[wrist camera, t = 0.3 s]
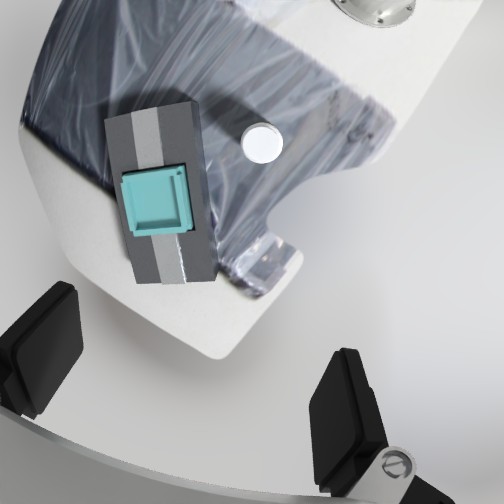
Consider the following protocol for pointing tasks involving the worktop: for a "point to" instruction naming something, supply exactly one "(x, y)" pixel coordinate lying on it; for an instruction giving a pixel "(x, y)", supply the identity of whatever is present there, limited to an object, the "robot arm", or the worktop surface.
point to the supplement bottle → (261, 142)
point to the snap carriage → (158, 201)
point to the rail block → (190, 153)
